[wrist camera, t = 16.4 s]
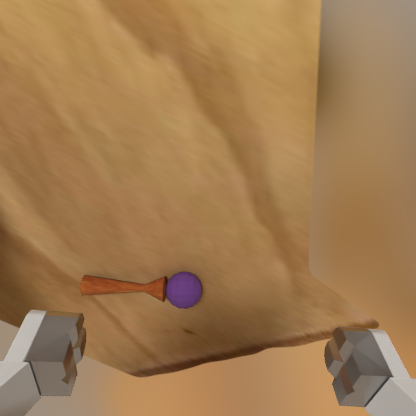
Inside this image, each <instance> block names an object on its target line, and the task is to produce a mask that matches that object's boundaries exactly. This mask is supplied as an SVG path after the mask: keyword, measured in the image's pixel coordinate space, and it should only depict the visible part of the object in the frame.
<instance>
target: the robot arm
mask: <svg viewBox="0 0 416 416" xmlns="http://www.w3.org/2000/svg"><path fill="white" fill-rule="evenodd" d="M83 323H84V315H83V313H73V312H59V311H47V310H30V312H29V313H28V314H27V315H26V317H25V319H24V321H23V323H22V325H21V327H20V329H19V331H18V333H17V334H16V337H15V338H14V340H13V342H12V344H11V346H10V348H9V351H8V352H7V354H6V356H5V358H4V360H3V361H0V416H24V415H25V414H26V413H27V412H28V411H29V410H30V409H31V408H32V407H33V406H34V405H35V403H36V402H37V401H38V400H39V399H40V398H41V397H40V396H71V393H72V389H73V386H74V383H75V380H76V376H77V369H76V364H77V363H78V362H80V361H81V360H82V357H83V353H84V350H85V344H86V329H85V328H84V327H83ZM332 334H333V337H334V338H333V339H331V340H330V341H328V342H327V345H326V347H325V354H324V357H325V363H326V366H327V370H328V371H329V372H330V373H331V374H332V375H333V376H334V377H335V378H334V381H333V383H332V385H333V388H334V391H335V394H336V397H337V400H338V403H339V405H340V406H357V407H365V410H366V411H367V412H368V413H369V414H370V416H416V379H414V378H410V376H409V374H408V373H407V371H406V369H405V367H404V365H403V363H402V361H401V359H400V358H399V356H398V354H397V352H396V350H395V349H394V346H393V345H392V343H391V341H390V339H389V337H388V336H387V334H386V332H385V331H384V330H381V329H366V328H348V327H338V328H336V329H335V330H334V331H333V333H332Z"/></svg>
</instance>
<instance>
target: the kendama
mask: <svg viewBox="0 0 416 416" xmlns="http://www.w3.org/2000/svg"><path fill="white" fill-rule="evenodd" d="M141 291H144V292H146V293H148V294H150V295H152V296H153V297H155V298H157V299H159V300H161V301H163V302H164V301H165V297H166V294H167V298H168V300H169V301H170V302H171V304H172V305H174V306H176V307H178V308H189V307H192V306H194V305H195V304H196V303H197V302H198V301H199V299H200V297H201V294H202V286H201V283H200V280H199V279H198V278H197V277H196V276H195V275H194V274H192V273H189V272H180V273H177V274H174V275H173V276H172V277H171V278H170V279H169V281H168V283H167V278H166V276H165V277H162V278H160V279H157V280H155V281H152V282H150V283H148V284H145V285H143V284H137V283H131V282H124V281H118V280H112V279H106V278H99V277H93V276H87V275H84V277H83V278H82V280H81V284H80V292H81V294H82V295H95V294H110V293H126V292H141Z"/></svg>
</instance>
